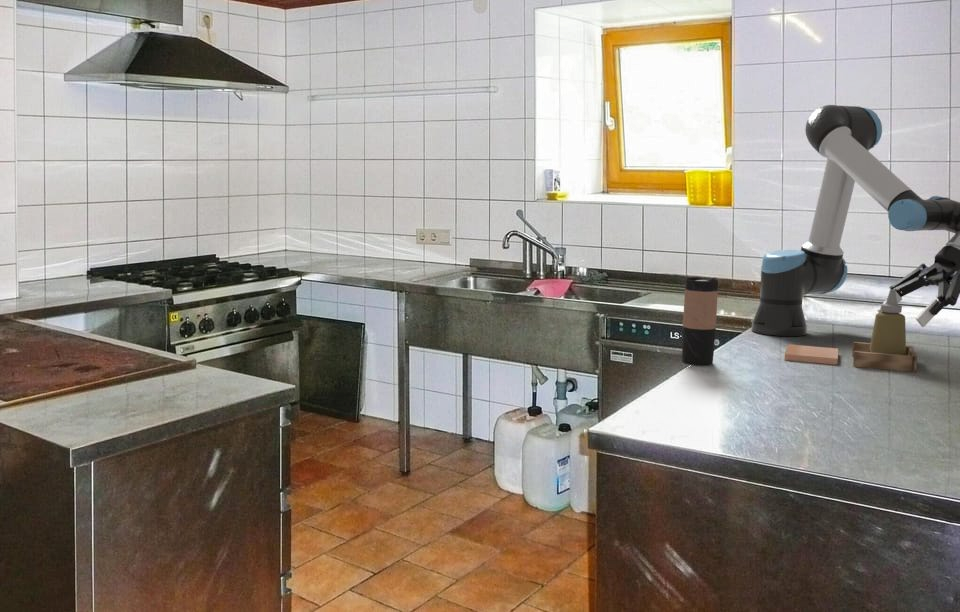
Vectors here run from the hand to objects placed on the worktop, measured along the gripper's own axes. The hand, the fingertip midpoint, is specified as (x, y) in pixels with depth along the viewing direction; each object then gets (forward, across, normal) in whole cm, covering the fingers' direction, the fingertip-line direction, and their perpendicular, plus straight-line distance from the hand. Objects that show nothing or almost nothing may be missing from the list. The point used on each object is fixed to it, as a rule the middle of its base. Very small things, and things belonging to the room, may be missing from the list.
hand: (899, 318), depth 215 cm
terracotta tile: (+19, +11, +3) cm, 22 cm away
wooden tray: (+10, +2, -6) cm, 12 cm away
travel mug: (+42, +9, +26) cm, 50 cm away
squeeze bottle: (+9, +1, -7) cm, 12 cm away
